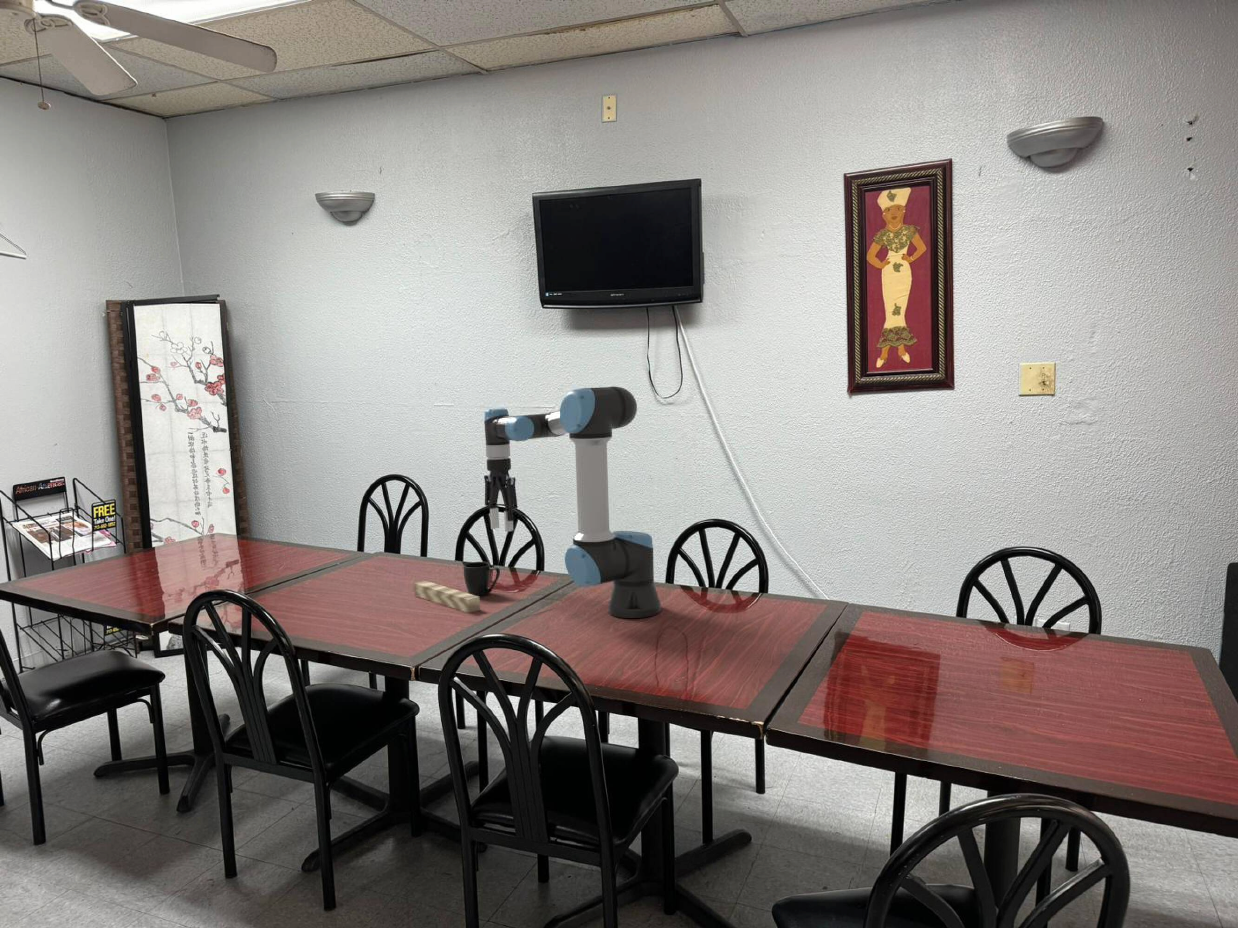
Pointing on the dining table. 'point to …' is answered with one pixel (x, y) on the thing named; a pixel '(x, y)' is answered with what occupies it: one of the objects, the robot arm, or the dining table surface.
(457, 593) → the wooden bar
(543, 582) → the dining table surface
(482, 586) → the mug
